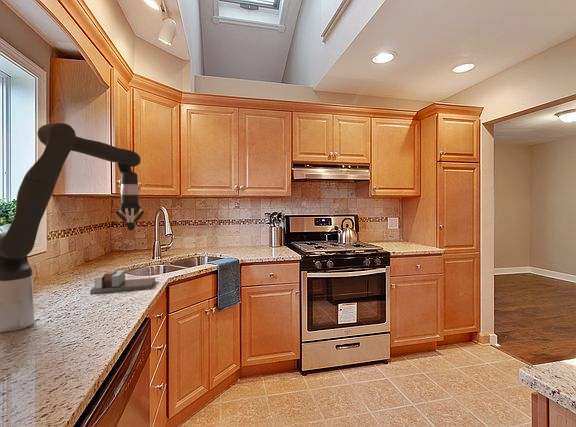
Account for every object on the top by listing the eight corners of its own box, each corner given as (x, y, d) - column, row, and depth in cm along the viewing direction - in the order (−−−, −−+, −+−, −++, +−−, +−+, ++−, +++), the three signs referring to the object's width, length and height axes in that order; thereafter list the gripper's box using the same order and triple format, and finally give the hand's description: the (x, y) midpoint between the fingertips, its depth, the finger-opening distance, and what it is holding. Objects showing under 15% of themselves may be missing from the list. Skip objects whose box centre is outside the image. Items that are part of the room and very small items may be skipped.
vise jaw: (118, 286, 145) (118, 275, 144) (111, 286, 144) (111, 276, 144) (125, 279, 156) (124, 270, 156) (118, 280, 155) (118, 270, 155)
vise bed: (151, 288, 148) (150, 274, 147) (90, 294, 141) (89, 279, 140) (155, 281, 161) (154, 268, 161) (100, 285, 154) (99, 272, 154)
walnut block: (113, 285, 147) (113, 273, 147) (104, 286, 146) (104, 273, 146) (116, 282, 152) (116, 271, 152) (107, 283, 151) (107, 271, 150)
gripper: (146, 194, 150) (147, 229, 150) (116, 194, 146) (118, 230, 147) (143, 193, 142) (144, 230, 143) (112, 194, 139) (113, 231, 140)
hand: (131, 230), depth 145 cm, fingers closed
